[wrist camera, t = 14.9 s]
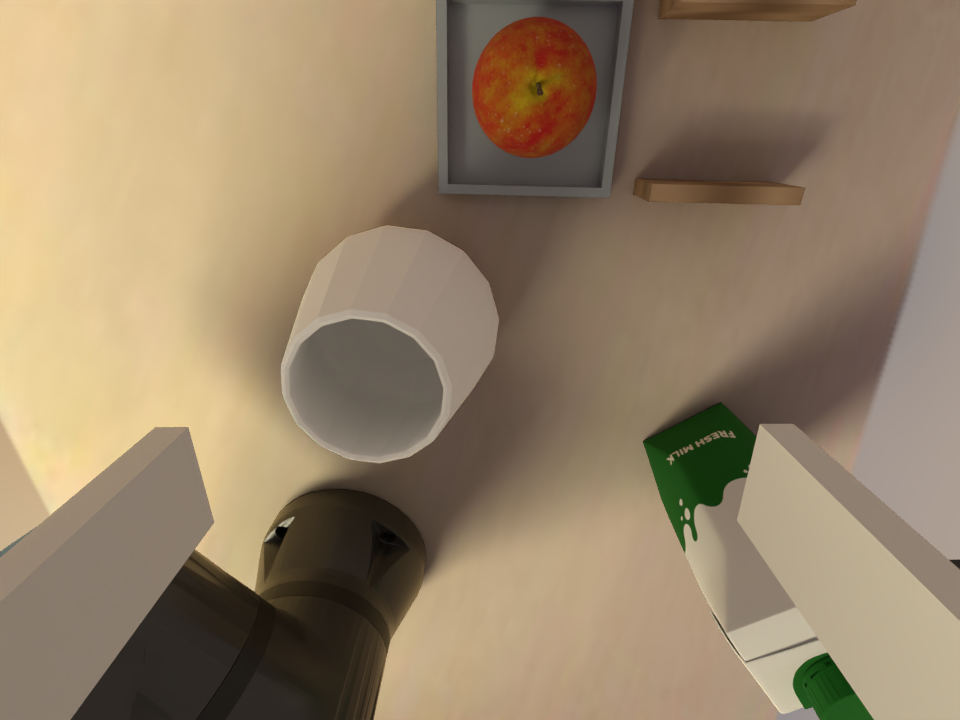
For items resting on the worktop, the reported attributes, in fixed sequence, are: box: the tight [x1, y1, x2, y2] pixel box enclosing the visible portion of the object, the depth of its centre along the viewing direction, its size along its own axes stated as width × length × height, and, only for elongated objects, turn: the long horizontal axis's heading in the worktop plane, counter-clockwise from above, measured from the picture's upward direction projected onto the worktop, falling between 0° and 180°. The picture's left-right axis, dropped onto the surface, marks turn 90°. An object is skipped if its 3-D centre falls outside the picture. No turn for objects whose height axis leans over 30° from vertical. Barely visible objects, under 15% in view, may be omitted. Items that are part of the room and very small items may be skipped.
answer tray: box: [436, 0, 634, 198], centre depth 31 cm, size 11×11×2 cm
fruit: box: [472, 17, 597, 158], centre depth 28 cm, size 7×7×8 cm
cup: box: [281, 225, 499, 463], centre depth 31 cm, size 13×13×14 cm
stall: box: [634, 0, 857, 205], centre depth 30 cm, size 9×11×4 cm
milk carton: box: [643, 402, 874, 720], centre depth 33 cm, size 9×9×20 cm
